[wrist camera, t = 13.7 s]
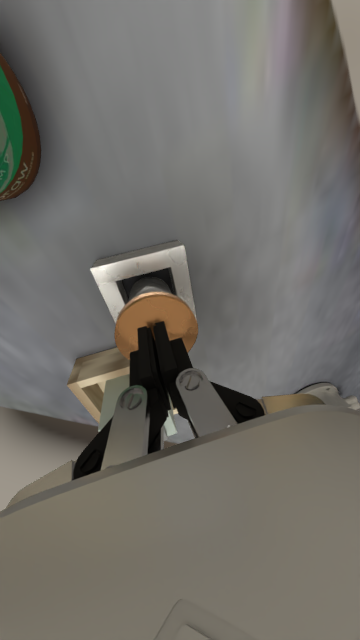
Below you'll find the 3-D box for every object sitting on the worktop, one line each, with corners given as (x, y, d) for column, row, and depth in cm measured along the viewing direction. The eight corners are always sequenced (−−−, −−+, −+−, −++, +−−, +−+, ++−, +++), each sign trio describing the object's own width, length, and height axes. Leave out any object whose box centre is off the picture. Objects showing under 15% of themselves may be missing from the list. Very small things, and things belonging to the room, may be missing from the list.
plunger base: (177, 239, 18) (184, 245, 16) (190, 309, 23) (197, 321, 20) (96, 260, 18) (89, 268, 15) (125, 327, 22) (124, 342, 19)
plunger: (172, 261, 17) (191, 287, 11) (183, 313, 20) (202, 353, 14) (110, 277, 16) (99, 312, 11) (131, 327, 19) (131, 375, 14)
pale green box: (106, 376, 24) (96, 439, 17) (159, 360, 24) (168, 416, 18) (120, 398, 27) (116, 460, 20) (167, 384, 27) (178, 440, 21)
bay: (170, 332, 24) (176, 352, 20) (185, 385, 30) (192, 408, 26) (76, 358, 23) (66, 385, 19) (111, 408, 29) (108, 435, 25)
